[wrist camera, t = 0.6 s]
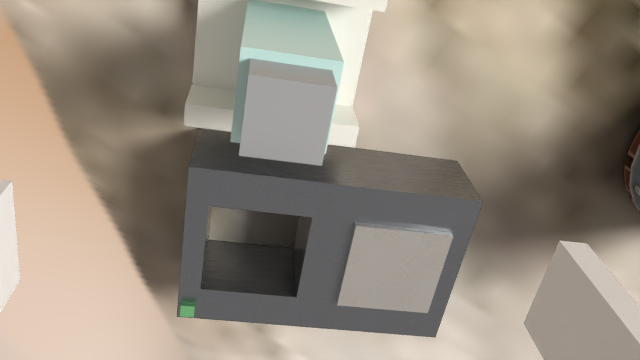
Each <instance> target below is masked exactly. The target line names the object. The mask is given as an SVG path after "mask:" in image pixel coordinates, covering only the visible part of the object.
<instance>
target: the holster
mask: <svg viewBox="0 0 640 360" xmlns="http://www.w3.org/2000/svg"><path fill="white" fill-rule="evenodd" d="M260 1H266V2H272V3H278V4H285V5H291V6H297V7H303V8H309V9H315V10H321V11H325V13H326V16H327V18H328V21H329V24H330V26H331V29H332V31H333V34H334V37H335V39H336V42H337V45H338V47H339V50H340V52H341V55H342V58H343V60H344V65H343V70H342V75H341V80H340V85H339V90H338V95H337V100H336V105H335V110H334V115H333V120H332V126H331V131H330V136H329V141H328V144H331V145H339V146H346V147H354V148H355V145H356V140H357V136H358V131H359V124H358V121H357V118H356V115H355V113H354V110H353V107H352V105H353V101H354V96H355V91H356V87H357V82H358V77H359V72H360V68H361V63H362V58H363V54H364V49H365V44H366V40H367V35H368V30H369V25H370V21H371V16H372V11H373V10H375V11H381V12H385V10H386V6H387V1H388V0H260ZM247 4H248V0H198V12H197V25H196V38H195V51H194V64H193V77H192V85H191V88H190V91H189V94H188V97H187V100H186V102H185V111H184V125H183V126H190V127H198V128H206V129H214V130H221V131H229V132H231V130H232V121H233V112H234V103H235V95H236V86H237V77H238V68H239V59H240V50H241V43H242V36H243V30H244V24H245V17H246V11H247Z"/></svg>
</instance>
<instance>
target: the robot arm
mask: <svg viewBox="0 0 640 360" xmlns="http://www.w3.org/2000/svg"><path fill="white" fill-rule="evenodd" d="M19 281H20V275H19V262H18V249H17V237H16V224H15V211H14V199H13V185H12V181H10V180H1V179H0V312H1V311H2V309H3V307H4V305H5V304H6V302H7V301H8V299H9V297H10V296H11V294H12V292H13V291H14V289H15V287H16V286H17V284H18V282H19ZM524 325H525V327H526V328H527V330H528V332H529V334H530V335H531V337H532V339H533V341H534V343H535V344H536V346H537V348H538V350H539V352H540V353H541V355H542V357H543V359H544V360H640V306H639V305H638V303H637V302H636V301H635V300H634V299H633V297H632V296H631V295H630V294H629V293H628V291H627V290H626V289H625V288H624V287H623V286H622V284H621V283H620V282H619V281H618V280H617V278H616V277H615V276H614V275H613V274H612V273H611V271H610V270H609V269H608V268H607V267H606V265H605V264H604V263H603V262H602V261H601V260H600V258H599V257H598V256H597V255H596V254H595V252H594V251H593V250H592V249H591V248H590V246H589V245H588V244H587V243H577V242H568V241H559V243H558V245H557V247H556V250H555V252H554V254H553V257H552V259H551V261H550V264H549V266H548V268H547V271H546V273H545V275H544V277H543V280H542V282H541V284H540V287H539V289H538V291H537V294H536V296H535V298H534V300H533V303H532V305H531V307H530V310H529V312H528V314H527V317H526V319H525V321H524Z"/></svg>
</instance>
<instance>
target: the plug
mask: <svg viewBox="0 0 640 360" xmlns="http://www.w3.org/2000/svg"><path fill="white" fill-rule="evenodd" d="M343 65H344V60H343V58H342V55H341V52H340V50H339V47H338V45H337V42H336V39H335V37H334V34H333V31H332V29H331V26H330V24H329V21H328V18H327V16H326V13H325V11H321V10H315V9H309V8H303V7H297V6H291V5H285V4H278V3H272V2H266V1H260V0H248V4H247V11H246V17H245V24H244V30H243V36H242V43H241V50H240V59H239V68H238V77H237V86H236V95H235V103H234V112H233V121H232V130H231V139H230V142H235V143H240V149H239V156H246V157H254V158H262V159H270V160H278V161H286V162H295V163H303V164H311V165H319V166H322V163H323V158H324V154H326V151H327V146H328V141H329V136H330V131H331V126H332V120H333V115H334V110H335V105H336V100H337V95H338V90H339V85H340V80H341V75H342V70H343Z"/></svg>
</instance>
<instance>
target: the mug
mask: <svg viewBox="0 0 640 360" xmlns="http://www.w3.org/2000/svg"><path fill="white" fill-rule="evenodd" d="M628 155H629V156H628V158H627V161H626V164H625V171H624V180H625V186H626V190H628V191H629V192H630V199H631V201H632V202H633V203H634V205H635V206H636V207H637V208H638V210H639V212H640V130H639V132H638V133H637V135H636V137H635V138H634V140H633V142H632V144H631V147H630V149H629V151H628Z"/></svg>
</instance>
